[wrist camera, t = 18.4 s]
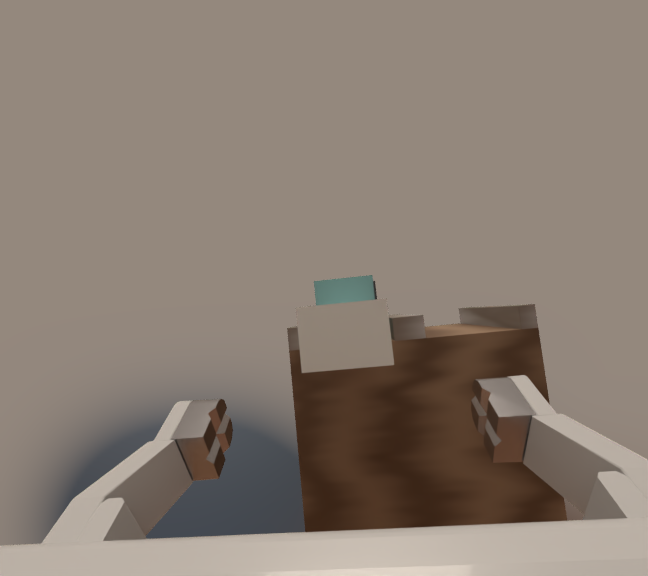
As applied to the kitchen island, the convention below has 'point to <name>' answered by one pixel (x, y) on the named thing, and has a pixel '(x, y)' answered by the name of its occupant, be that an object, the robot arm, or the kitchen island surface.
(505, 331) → the wooden desk organizer
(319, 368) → the teal and white bar
